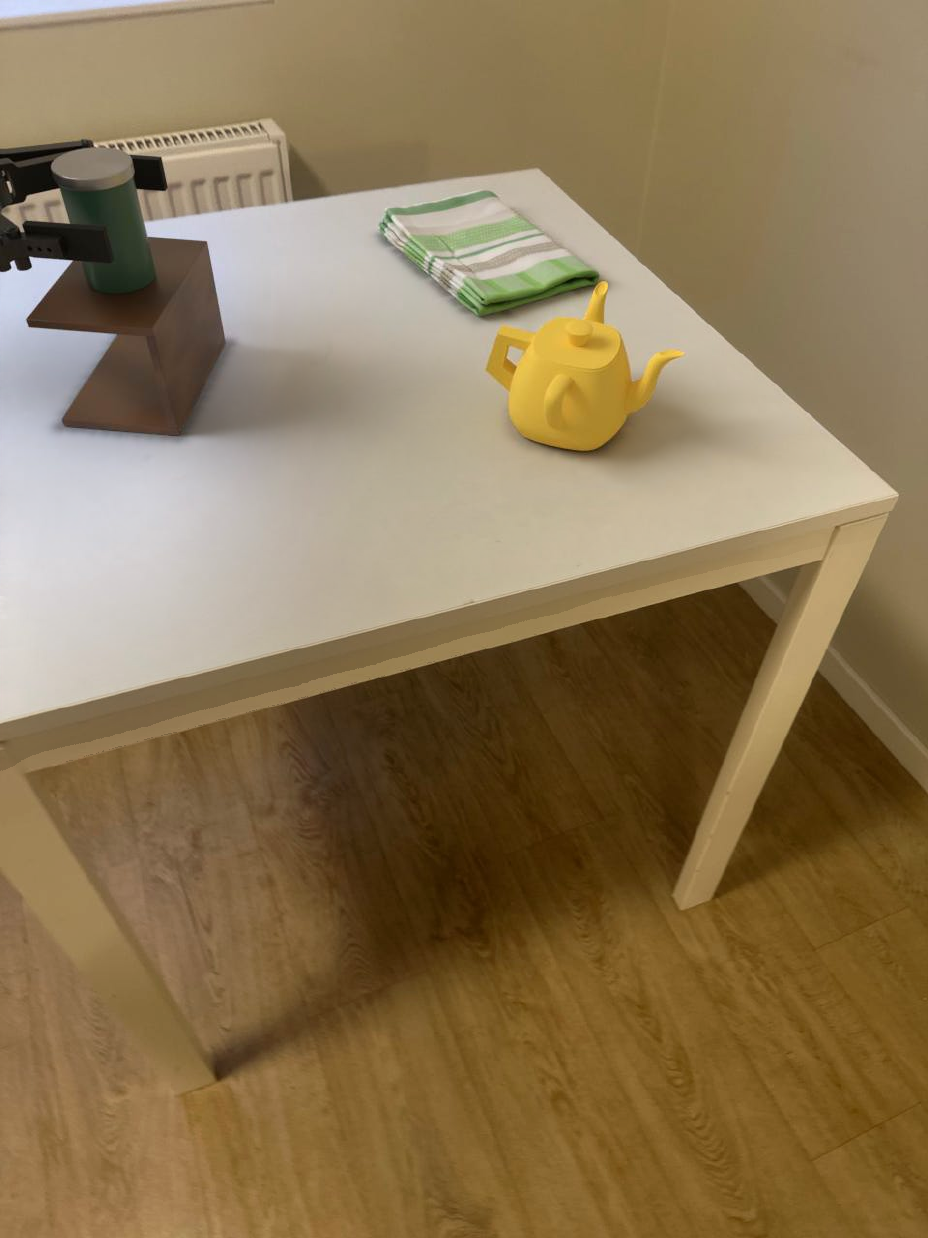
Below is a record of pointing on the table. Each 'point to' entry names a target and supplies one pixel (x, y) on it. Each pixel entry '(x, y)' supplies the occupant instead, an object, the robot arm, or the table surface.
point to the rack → (143, 340)
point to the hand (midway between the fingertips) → (138, 207)
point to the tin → (107, 215)
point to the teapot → (572, 378)
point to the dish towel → (484, 251)
